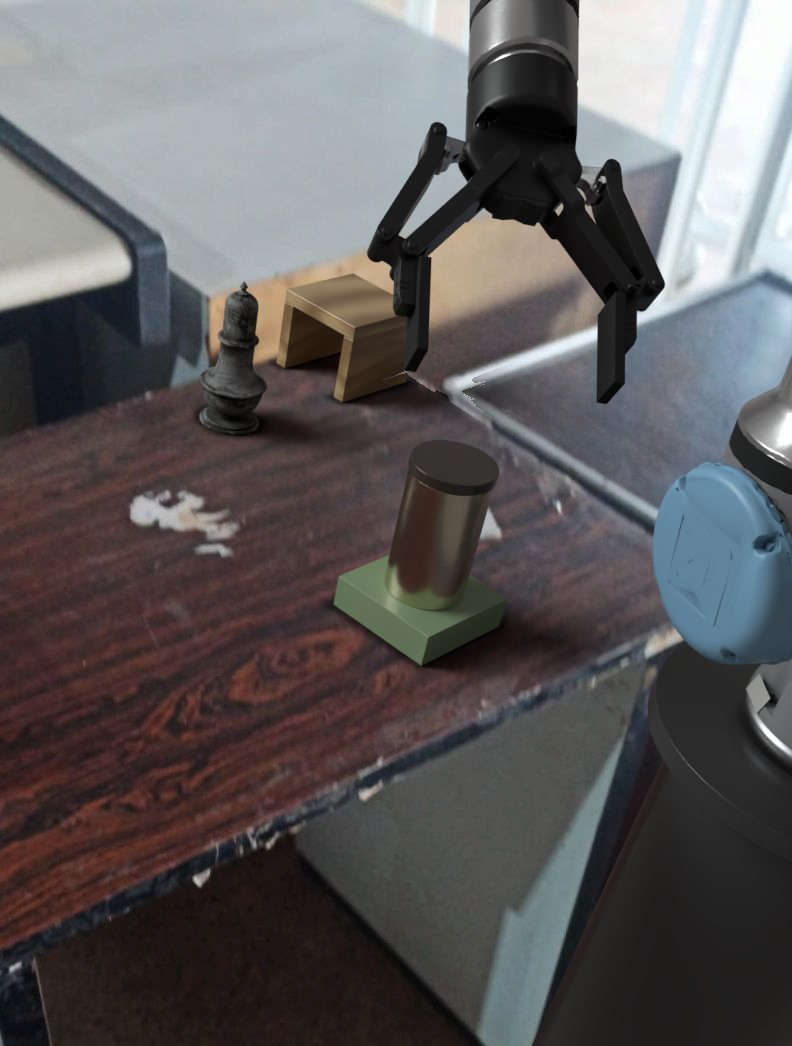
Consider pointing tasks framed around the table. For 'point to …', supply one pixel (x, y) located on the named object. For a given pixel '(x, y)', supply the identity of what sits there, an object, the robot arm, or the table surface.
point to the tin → (439, 523)
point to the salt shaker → (234, 370)
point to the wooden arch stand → (345, 333)
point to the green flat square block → (417, 614)
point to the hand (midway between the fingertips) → (514, 377)
